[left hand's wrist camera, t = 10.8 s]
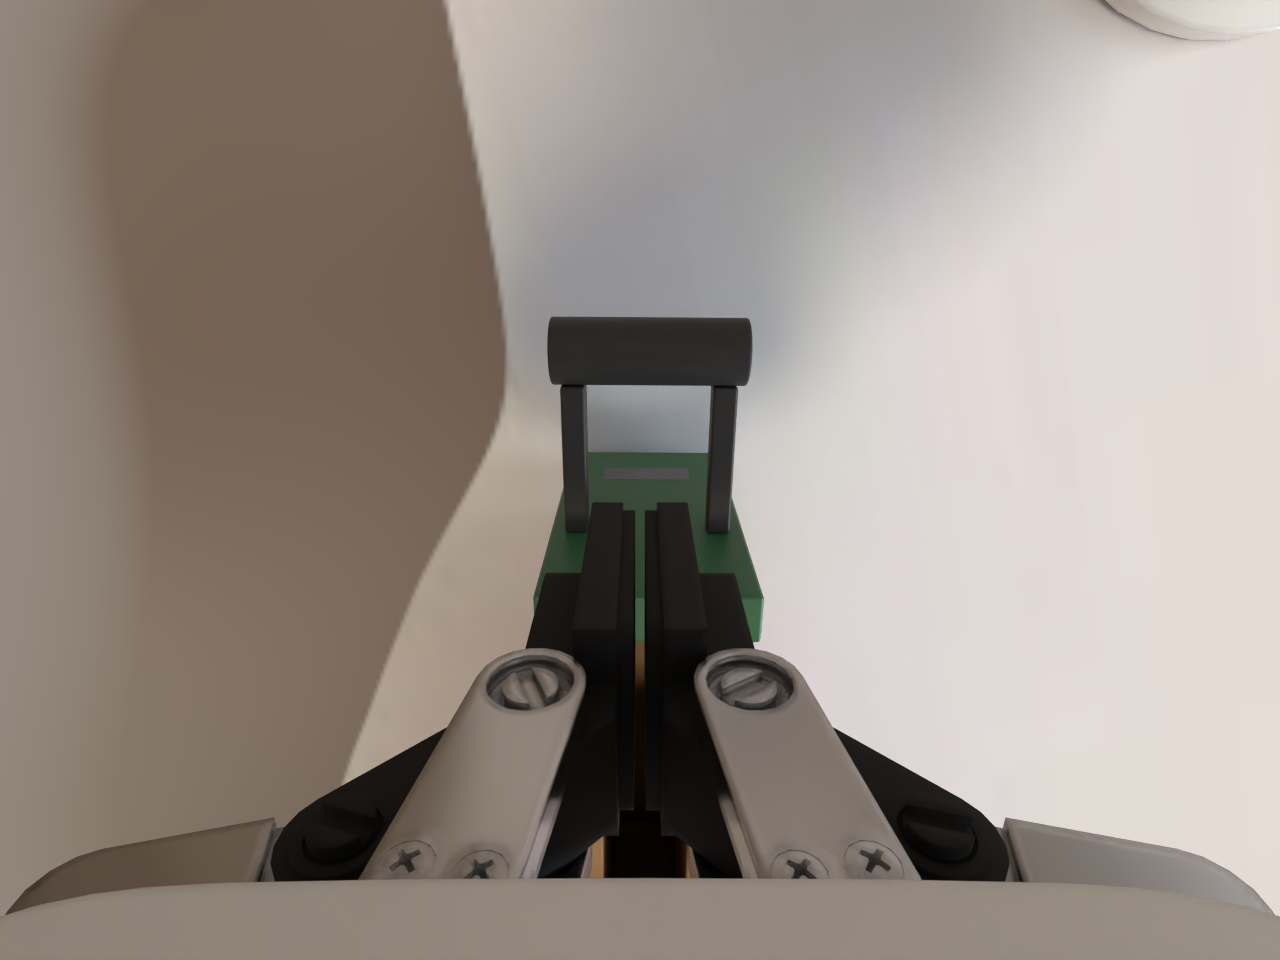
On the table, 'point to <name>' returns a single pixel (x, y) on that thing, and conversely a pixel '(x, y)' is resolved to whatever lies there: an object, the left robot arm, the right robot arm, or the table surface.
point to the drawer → (650, 503)
